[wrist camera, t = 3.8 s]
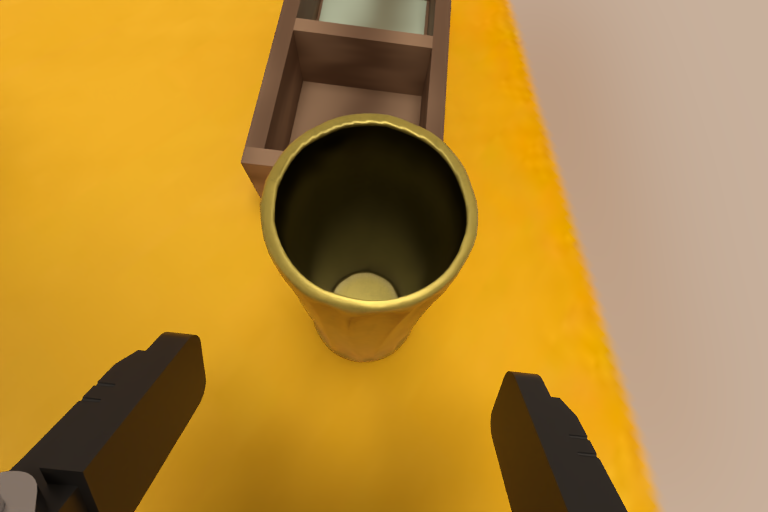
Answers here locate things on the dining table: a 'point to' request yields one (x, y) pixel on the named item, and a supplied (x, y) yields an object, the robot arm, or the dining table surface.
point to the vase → (368, 228)
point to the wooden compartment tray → (348, 71)
